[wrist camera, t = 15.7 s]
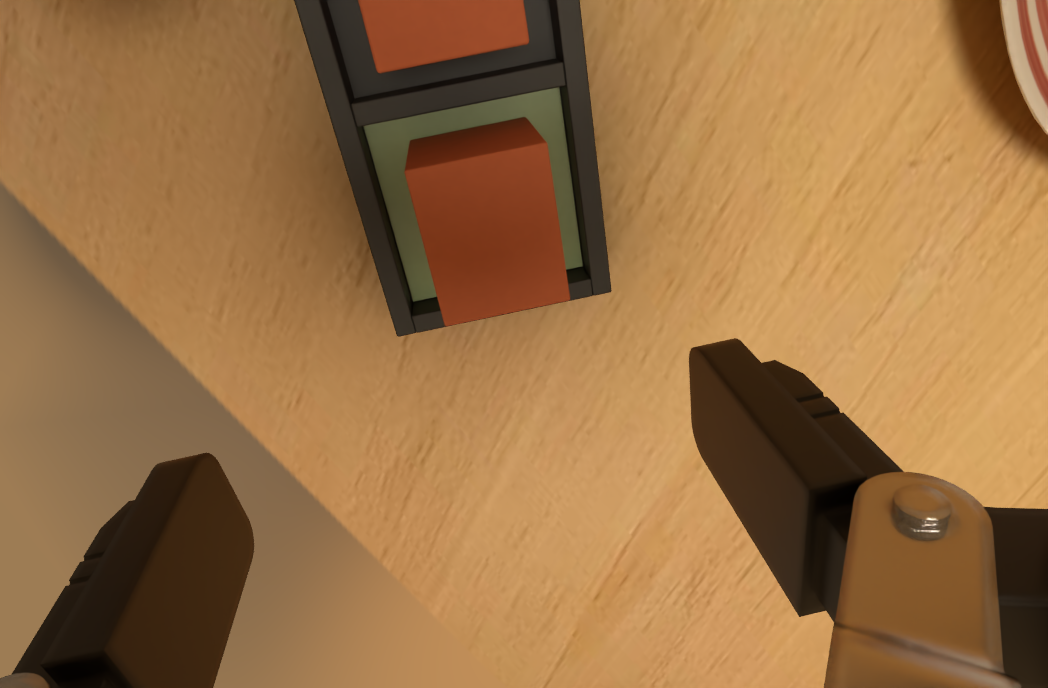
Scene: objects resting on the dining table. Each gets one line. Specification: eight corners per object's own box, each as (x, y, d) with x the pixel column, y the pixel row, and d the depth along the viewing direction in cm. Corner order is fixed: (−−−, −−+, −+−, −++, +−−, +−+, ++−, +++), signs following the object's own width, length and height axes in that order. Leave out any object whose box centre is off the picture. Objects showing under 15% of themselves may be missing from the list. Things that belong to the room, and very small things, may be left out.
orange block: (442, 273, 26) (445, 327, 22) (409, 139, 24) (403, 170, 19) (548, 251, 26) (570, 300, 22) (526, 116, 24) (547, 141, 19)
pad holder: (399, 315, 28) (397, 337, 26) (250, -183, 19) (231, -202, 18) (600, 273, 28) (611, 292, 26) (540, -236, 20) (551, -261, 18)
